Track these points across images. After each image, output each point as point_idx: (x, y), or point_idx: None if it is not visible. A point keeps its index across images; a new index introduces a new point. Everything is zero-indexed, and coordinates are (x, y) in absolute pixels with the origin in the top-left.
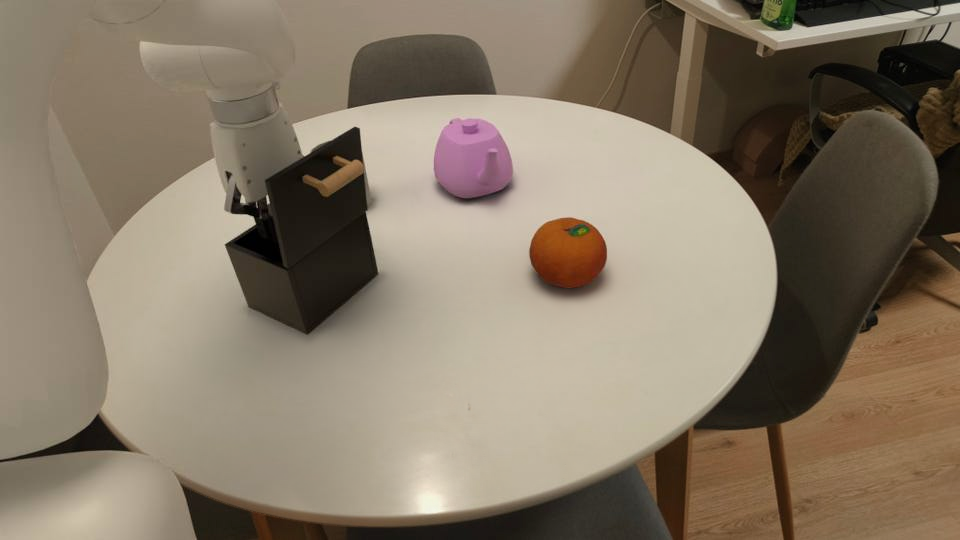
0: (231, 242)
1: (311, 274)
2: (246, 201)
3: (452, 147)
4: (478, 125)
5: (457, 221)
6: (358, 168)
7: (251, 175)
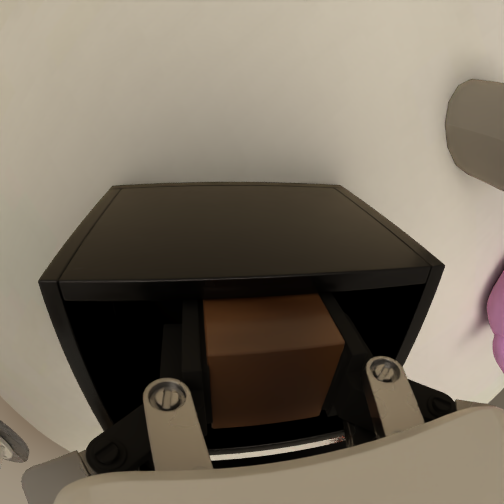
0: (60, 292)
1: None
2: (153, 457)
3: None
4: None
5: (448, 320)
6: None
7: None
